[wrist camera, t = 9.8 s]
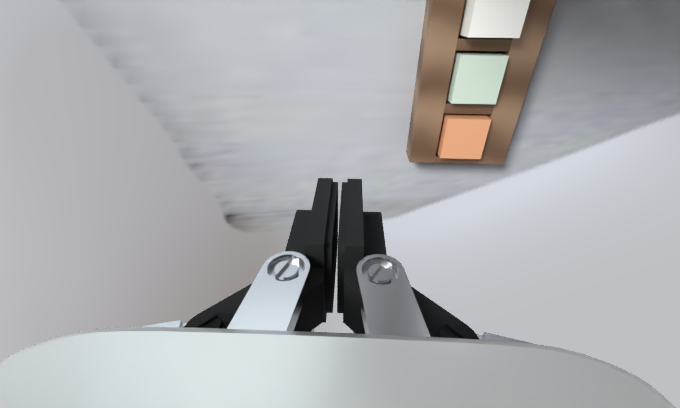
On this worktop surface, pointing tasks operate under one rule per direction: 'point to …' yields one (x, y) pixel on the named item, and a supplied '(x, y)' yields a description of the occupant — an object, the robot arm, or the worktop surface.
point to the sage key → (476, 77)
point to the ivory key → (493, 18)
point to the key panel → (436, 73)
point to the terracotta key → (463, 136)
